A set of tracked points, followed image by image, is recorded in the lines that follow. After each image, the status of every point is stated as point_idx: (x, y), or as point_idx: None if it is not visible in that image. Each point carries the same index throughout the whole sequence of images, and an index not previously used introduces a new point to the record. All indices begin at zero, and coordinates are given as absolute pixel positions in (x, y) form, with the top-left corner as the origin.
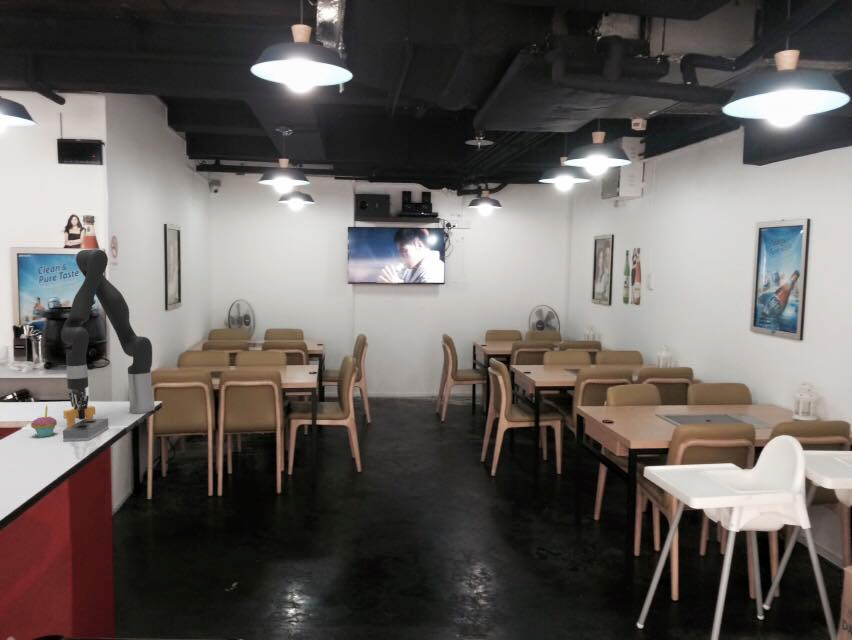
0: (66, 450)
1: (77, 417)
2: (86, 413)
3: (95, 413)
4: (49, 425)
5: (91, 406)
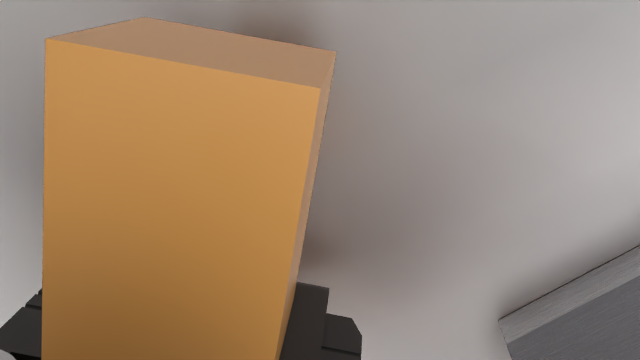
0: None
1: None
2: (295, 282)
3: (334, 54)
4: None
5: (114, 99)
